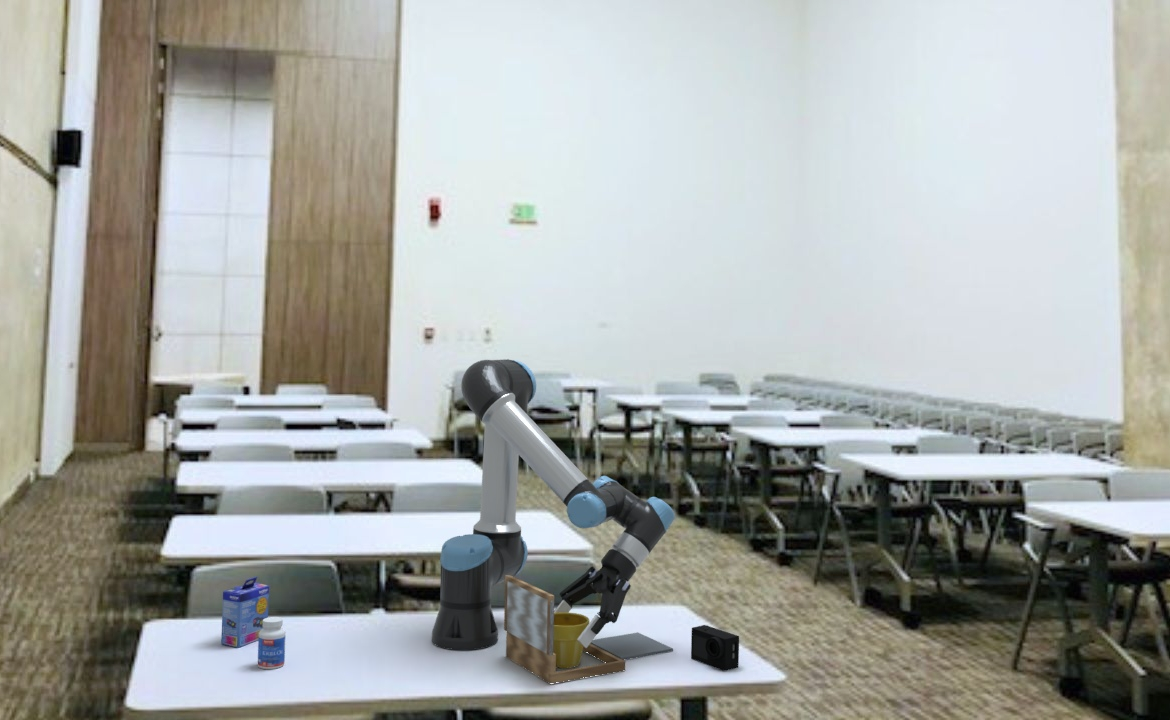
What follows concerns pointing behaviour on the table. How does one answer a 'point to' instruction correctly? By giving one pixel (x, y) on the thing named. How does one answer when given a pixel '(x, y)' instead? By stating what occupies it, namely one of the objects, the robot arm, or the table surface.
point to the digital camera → (715, 647)
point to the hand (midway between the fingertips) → (564, 635)
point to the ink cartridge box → (244, 613)
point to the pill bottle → (271, 644)
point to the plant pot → (568, 638)
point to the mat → (631, 646)
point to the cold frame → (542, 635)
